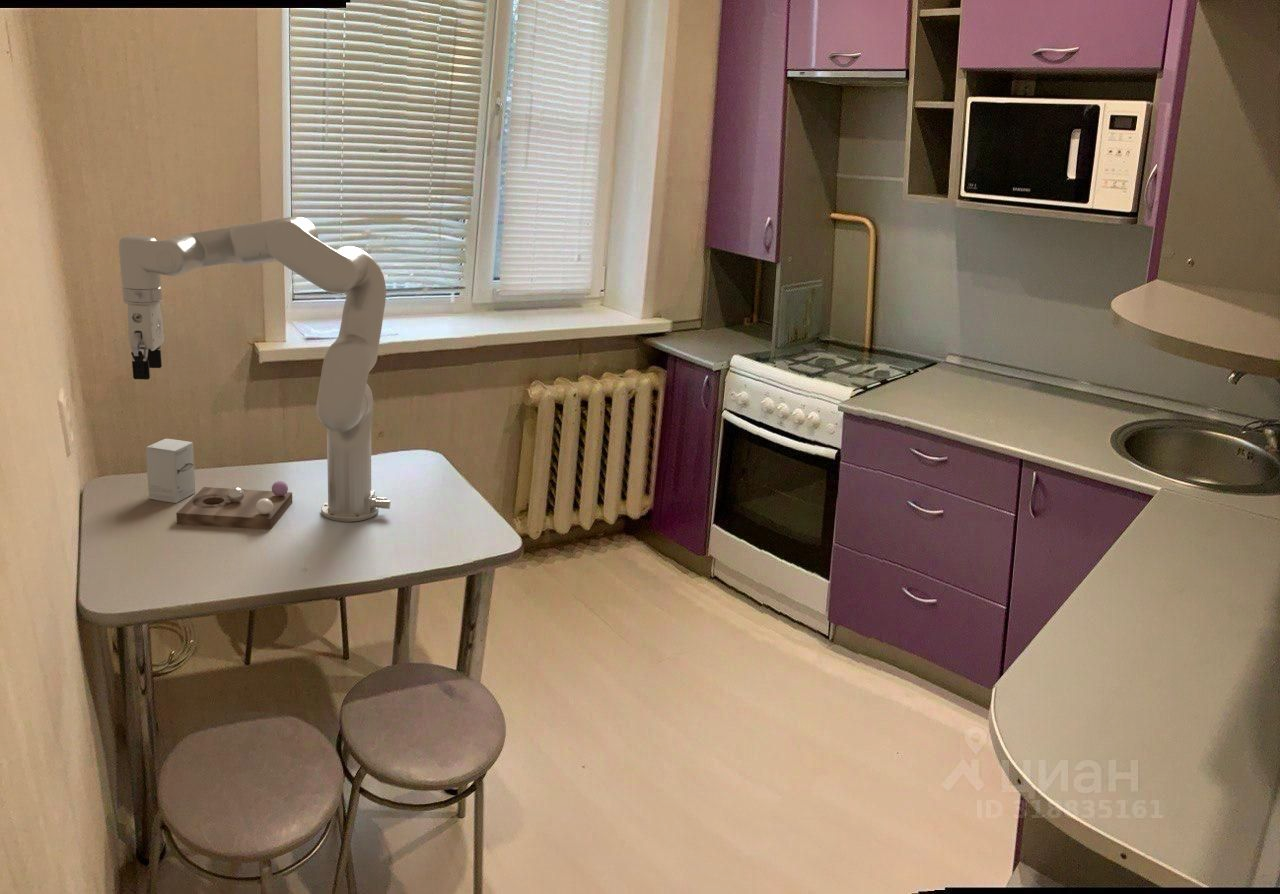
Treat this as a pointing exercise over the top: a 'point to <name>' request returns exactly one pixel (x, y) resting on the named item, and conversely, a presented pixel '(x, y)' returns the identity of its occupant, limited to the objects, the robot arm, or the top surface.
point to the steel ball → (235, 495)
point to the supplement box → (170, 470)
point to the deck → (232, 509)
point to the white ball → (264, 506)
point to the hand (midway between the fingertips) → (147, 373)
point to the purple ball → (279, 488)
